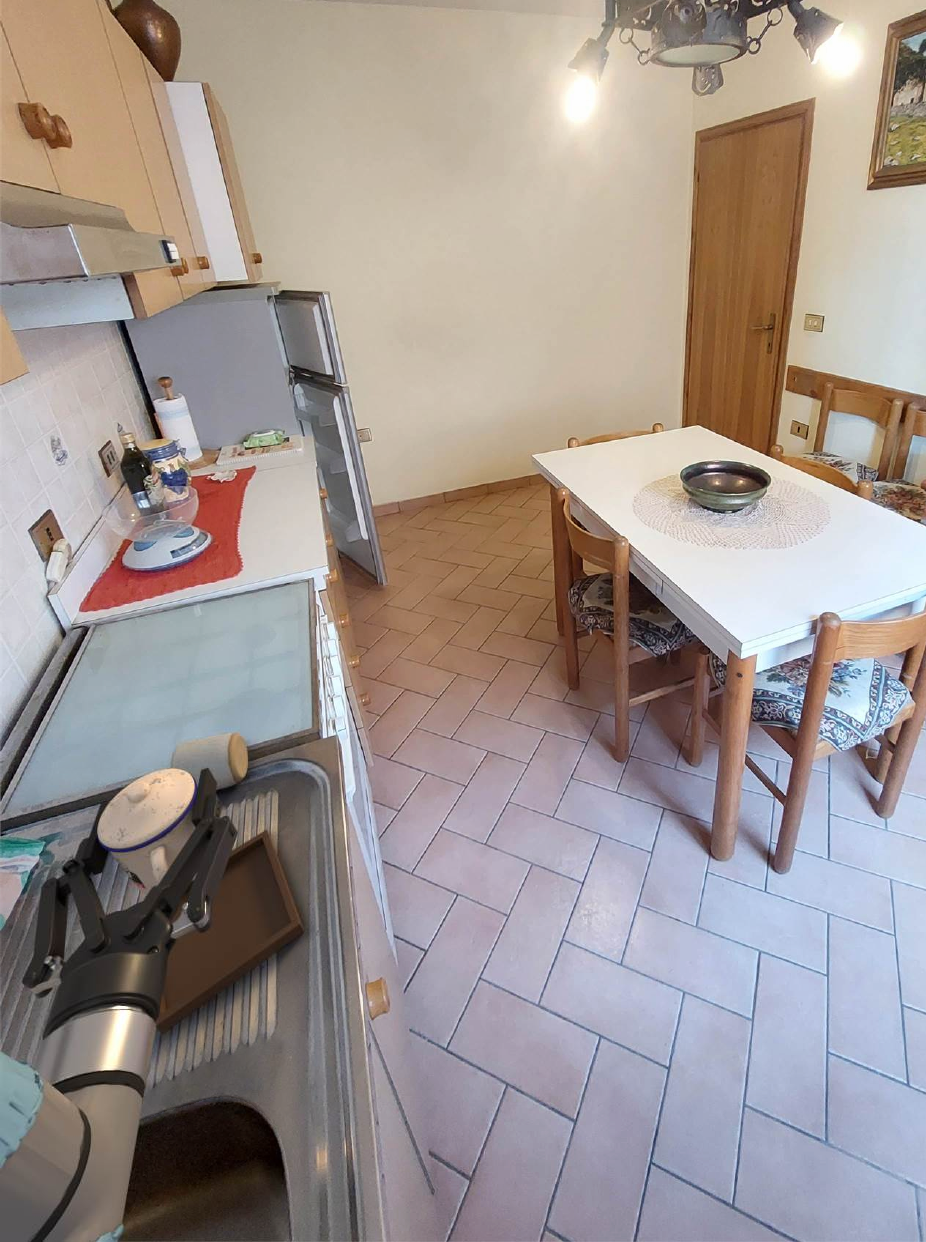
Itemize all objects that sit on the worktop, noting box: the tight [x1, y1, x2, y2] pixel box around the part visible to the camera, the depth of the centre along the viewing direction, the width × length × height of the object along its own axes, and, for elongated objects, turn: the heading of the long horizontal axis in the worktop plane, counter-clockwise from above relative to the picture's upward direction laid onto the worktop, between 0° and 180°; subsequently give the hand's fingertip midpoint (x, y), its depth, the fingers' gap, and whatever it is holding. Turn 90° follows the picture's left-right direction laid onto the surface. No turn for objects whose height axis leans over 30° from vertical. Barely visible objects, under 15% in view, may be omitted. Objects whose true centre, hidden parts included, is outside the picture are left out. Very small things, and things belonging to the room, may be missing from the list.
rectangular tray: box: [155, 829, 305, 1035], centre depth 68 cm, size 15×15×2 cm
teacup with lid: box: [97, 768, 197, 895], centre depth 61 cm, size 12×9×12 cm
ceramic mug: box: [169, 732, 249, 791], centre depth 85 cm, size 11×8×8 cm
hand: (160, 793), depth 64 cm, fingers closed on teacup with lid, 9 cm apart
